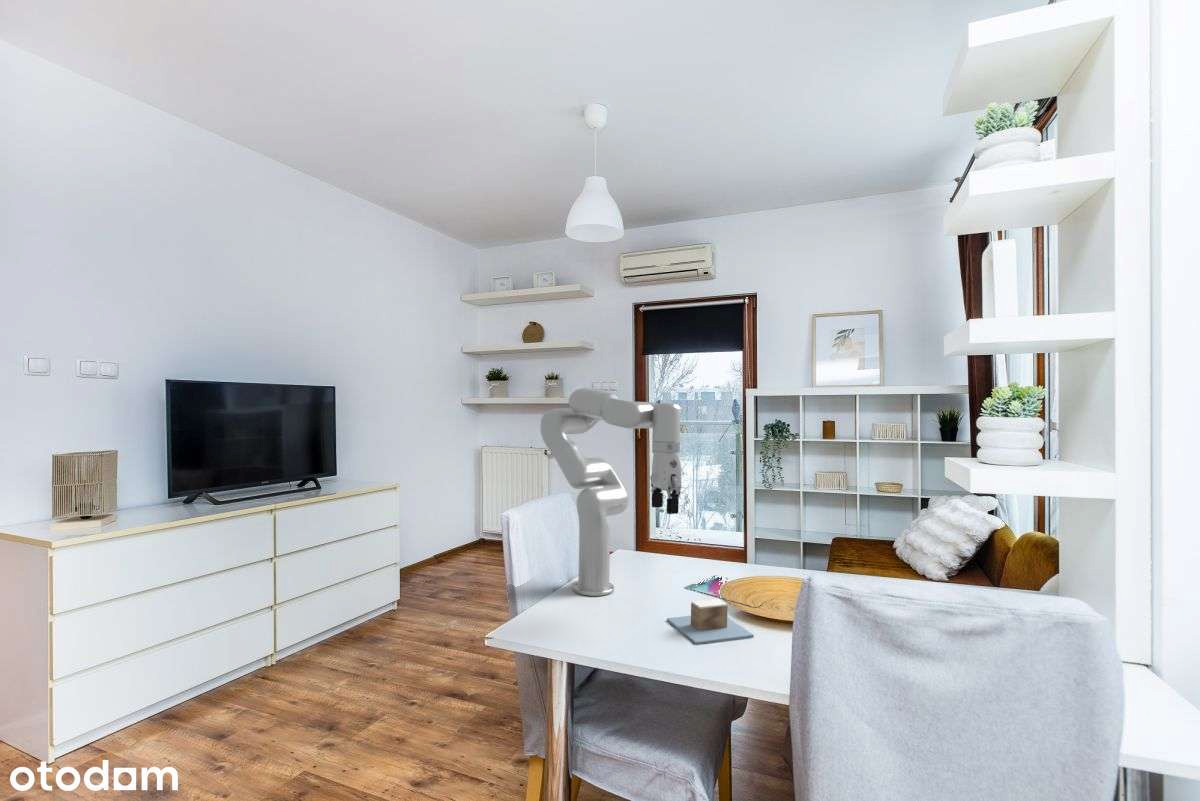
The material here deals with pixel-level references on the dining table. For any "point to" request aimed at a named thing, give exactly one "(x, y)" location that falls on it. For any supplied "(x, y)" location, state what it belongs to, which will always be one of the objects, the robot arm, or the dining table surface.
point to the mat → (709, 631)
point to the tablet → (708, 586)
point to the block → (709, 614)
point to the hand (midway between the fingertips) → (664, 510)
